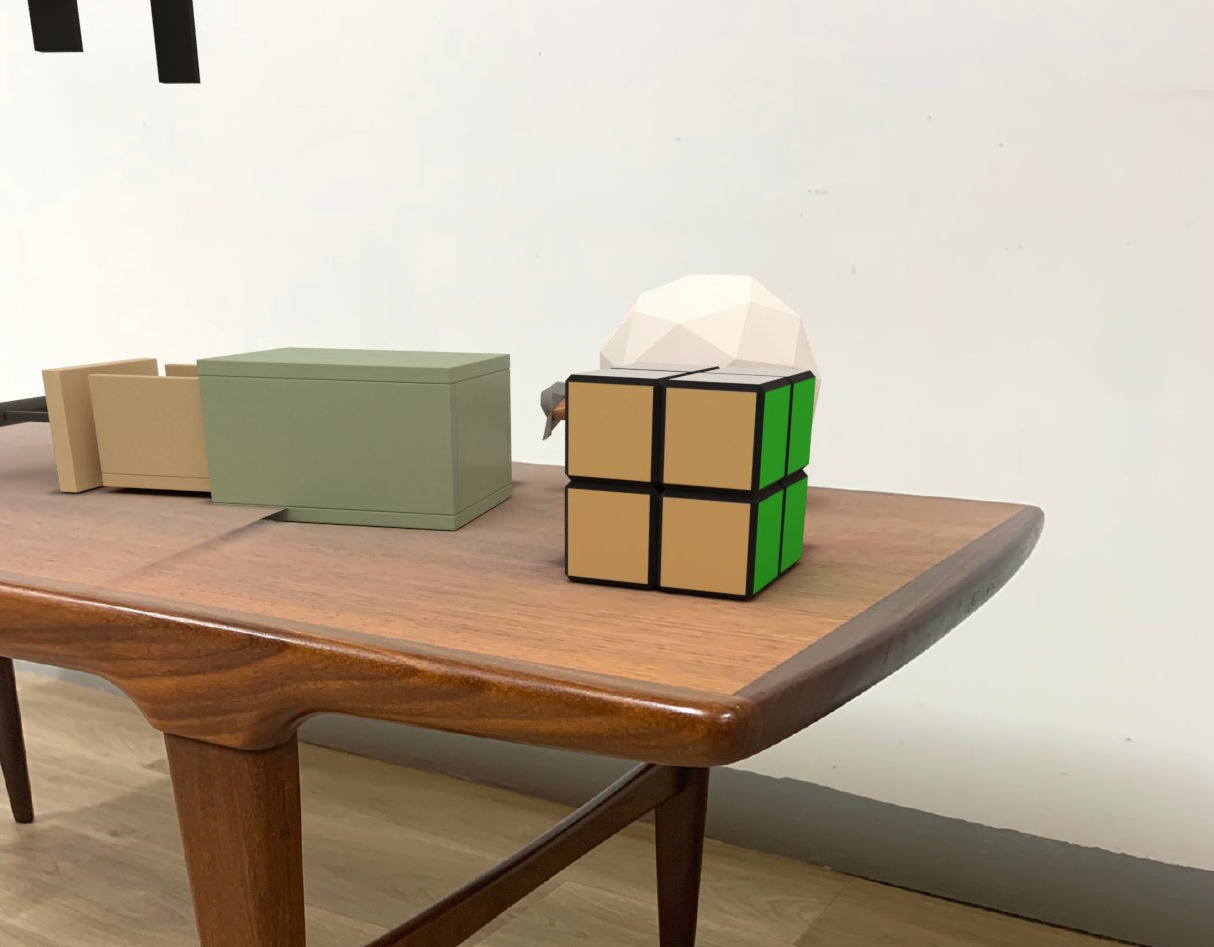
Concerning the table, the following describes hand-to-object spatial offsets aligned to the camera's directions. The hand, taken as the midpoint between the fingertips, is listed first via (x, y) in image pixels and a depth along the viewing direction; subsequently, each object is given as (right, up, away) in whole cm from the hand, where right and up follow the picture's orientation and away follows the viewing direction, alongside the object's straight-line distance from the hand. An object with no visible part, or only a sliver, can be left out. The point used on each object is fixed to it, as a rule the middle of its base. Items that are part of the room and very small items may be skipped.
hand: (124, 69), depth 79 cm
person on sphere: (+36, -25, +8) cm, 44 cm away
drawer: (+1, -25, +5) cm, 25 cm away
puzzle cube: (+35, -35, -13) cm, 51 cm away
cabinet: (+15, -27, +3) cm, 31 cm away
